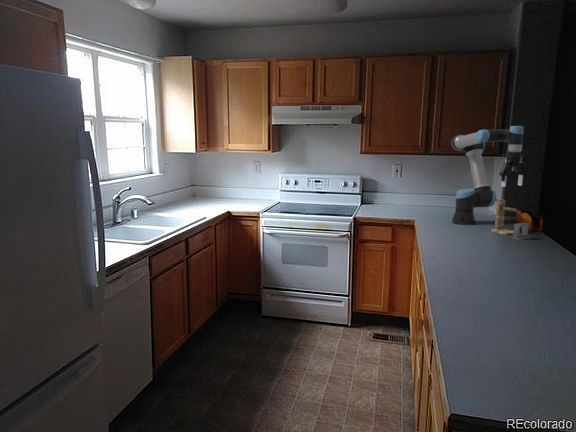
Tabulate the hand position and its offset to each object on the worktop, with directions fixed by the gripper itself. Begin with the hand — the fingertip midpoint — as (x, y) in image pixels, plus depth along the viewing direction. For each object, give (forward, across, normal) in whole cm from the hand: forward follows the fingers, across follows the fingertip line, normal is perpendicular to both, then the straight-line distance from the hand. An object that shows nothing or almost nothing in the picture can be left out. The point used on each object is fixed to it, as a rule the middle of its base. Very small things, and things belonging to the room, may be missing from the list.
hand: (511, 186), depth 268 cm
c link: (+28, -9, -17) cm, 34 cm away
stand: (+29, -5, -3) cm, 29 cm away
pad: (+29, -9, -17) cm, 35 cm away
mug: (+29, +13, -3) cm, 32 cm away
